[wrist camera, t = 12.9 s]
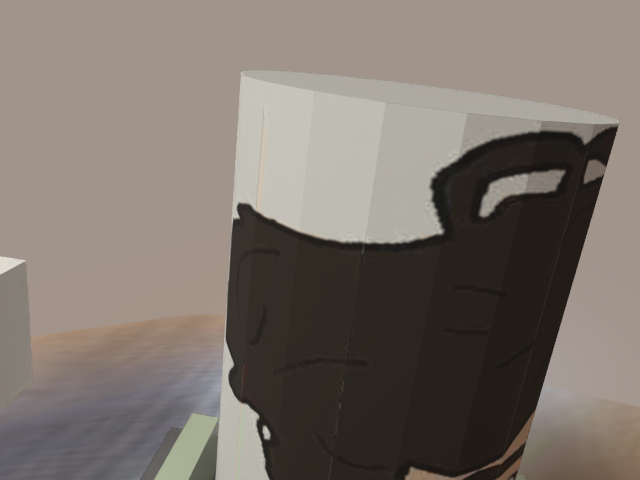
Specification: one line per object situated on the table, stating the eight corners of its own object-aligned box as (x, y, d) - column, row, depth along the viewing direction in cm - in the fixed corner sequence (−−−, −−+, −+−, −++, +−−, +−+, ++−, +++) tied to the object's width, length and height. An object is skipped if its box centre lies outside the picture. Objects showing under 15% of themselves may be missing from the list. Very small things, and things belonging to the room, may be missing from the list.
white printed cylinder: (367, 901, 11) (569, 135, 6) (148, 664, 14) (157, 63, 9) (486, 636, 16) (644, 117, 11) (305, 510, 20) (363, 76, 15)
